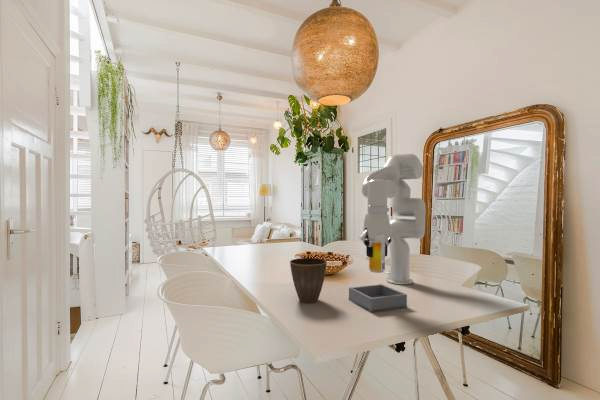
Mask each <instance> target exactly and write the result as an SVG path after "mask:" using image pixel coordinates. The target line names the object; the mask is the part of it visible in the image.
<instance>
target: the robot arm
mask: <svg viewBox="0 0 600 400" xmlns="http://www.w3.org/2000/svg"><path fill="white" fill-rule="evenodd" d="M423 175H424V167H423V164H422V162H421V161H420V159H419V157H418V156H417V155H415V154H414V153H406V154H405V153H404V154H394V155H391V156H389V158H387V160H386V162H385V163H384V165H383V167H382V168H380V169H378V170H376V171H373V172H371V173H369V174H368V175H367V176H366V178H365V179H364V181H363V184H362V186H361V193H362V195H363V197H364V198H366V199H367V213H366V214H365V216H364V220H363V228H362V229H363V230H362V233H361V235H360V236H359V239H360V241H361V242H362V243H363V245H364V246H365V247H366V248H365V249H366V250H365V252H366V253H365V254H366V257H373V247H371V246H372V243H373V240H374V239H375V237H376V236H377V234H384V236H385V257H388V247H389V271H386V275H388V276H387V277H386V282H388V283H391V284H394V285H405V286H406V285H411V284H413V281H414V280H413V279H412V278H410V273H411V272H410V268H411V266H410V253H411V252H410V245H409V242H407V240H406V239H413V240H414V239H415V240H416V239H417V240H420V239H423V238H424V236H425V235H426V213H427V212H426V211H427V210H426V209H427V207H426V202H425V201H424V199H423V198H420V197H411V187H410V185H409V184H408V183H407V182H406V181H405V180H418V179H421V178H422V177H423ZM388 199H392V214H393V215H394V216H396V217H405V218H393V219H391V220H390V216H389V214H388V212H389V211H390V208H389V207H388ZM407 218H408V219H407ZM409 218H410V219H409ZM411 218H412V219H411Z"/></svg>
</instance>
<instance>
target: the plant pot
mask: <svg viewBox="0 0 600 400" xmlns="http://www.w3.org/2000/svg"><path fill="white" fill-rule="evenodd" d="M327 263H328V262H327V260H326V259H324V258H314V257H300V258H294V259H291V260H290V261H289V264H290V271H291V278H292V281H293V285H294V288H295V293H296V295H297V297H298V300H299V302H300V303H303V304H314V303H317V302H318V300H319V299H320V295H321V292H322V289H323V285H324V281H325V275H326V270H327Z"/></svg>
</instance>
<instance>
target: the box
mask: <svg viewBox="0 0 600 400" xmlns="http://www.w3.org/2000/svg"><path fill="white" fill-rule="evenodd" d="M348 300H349V301H350V302H351V303H354V304H355V305H357V306H359V307H360V308H363V309H364V310H366V311H367V312H369V313H372V314H373V313H378V312H379V313H380V312H385V311H393V310H399V309H407V307H408V294H407V293H404V292H402V291H399V290H397V289H395V288H392V287H390V286H388V285H385V284H382V283H379V284H372V285H371V284H370V285H362V286H352V287H348Z"/></svg>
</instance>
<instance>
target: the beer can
mask: <svg viewBox="0 0 600 400" xmlns="http://www.w3.org/2000/svg"><path fill="white" fill-rule="evenodd" d="M371 247H373V257H369V258H368V269H369V271H370V272H371V273H377V274H380V273H384V272H385V270H386V256H385V236H384V234H377V236H376V237H375V239H374V240H373V243H372V246H371Z"/></svg>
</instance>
